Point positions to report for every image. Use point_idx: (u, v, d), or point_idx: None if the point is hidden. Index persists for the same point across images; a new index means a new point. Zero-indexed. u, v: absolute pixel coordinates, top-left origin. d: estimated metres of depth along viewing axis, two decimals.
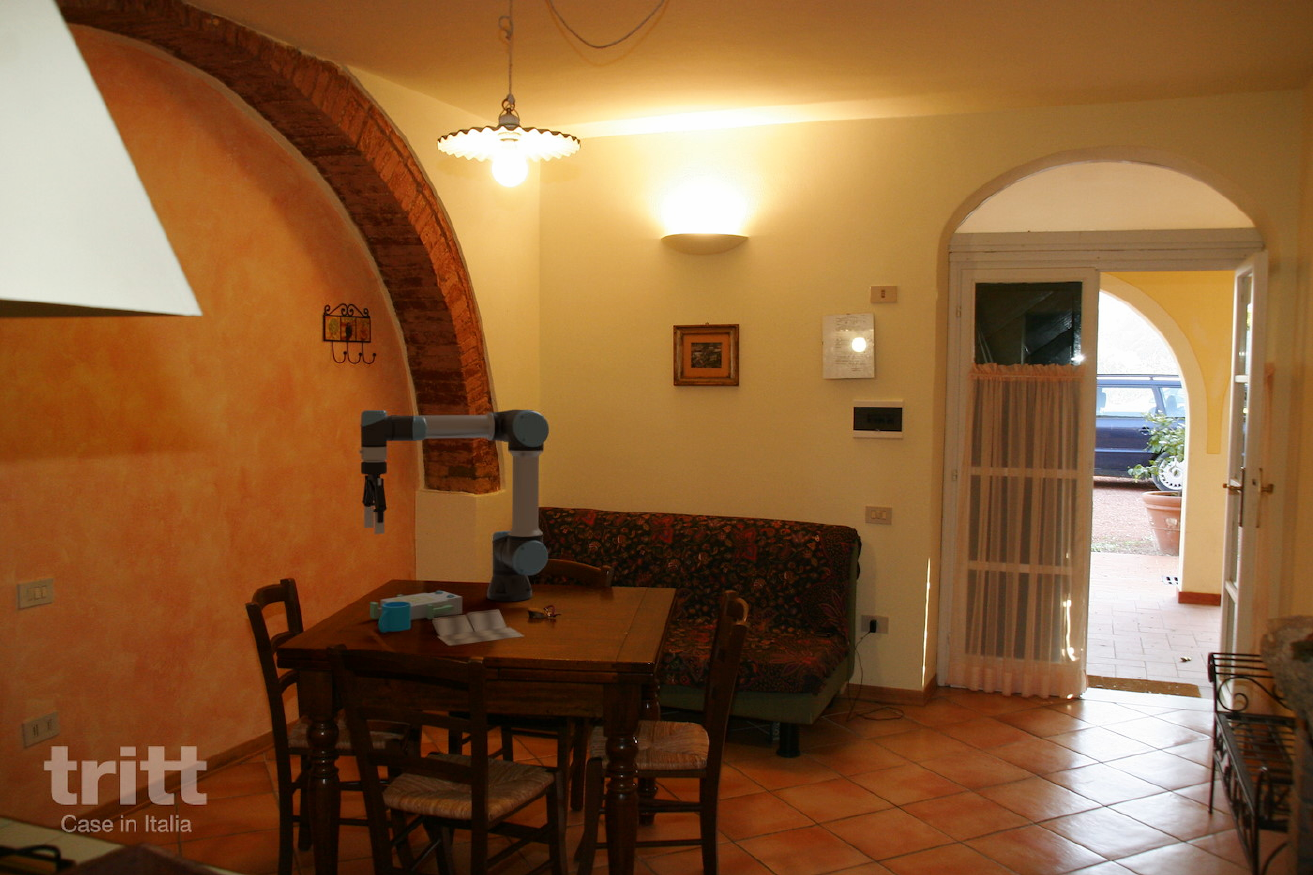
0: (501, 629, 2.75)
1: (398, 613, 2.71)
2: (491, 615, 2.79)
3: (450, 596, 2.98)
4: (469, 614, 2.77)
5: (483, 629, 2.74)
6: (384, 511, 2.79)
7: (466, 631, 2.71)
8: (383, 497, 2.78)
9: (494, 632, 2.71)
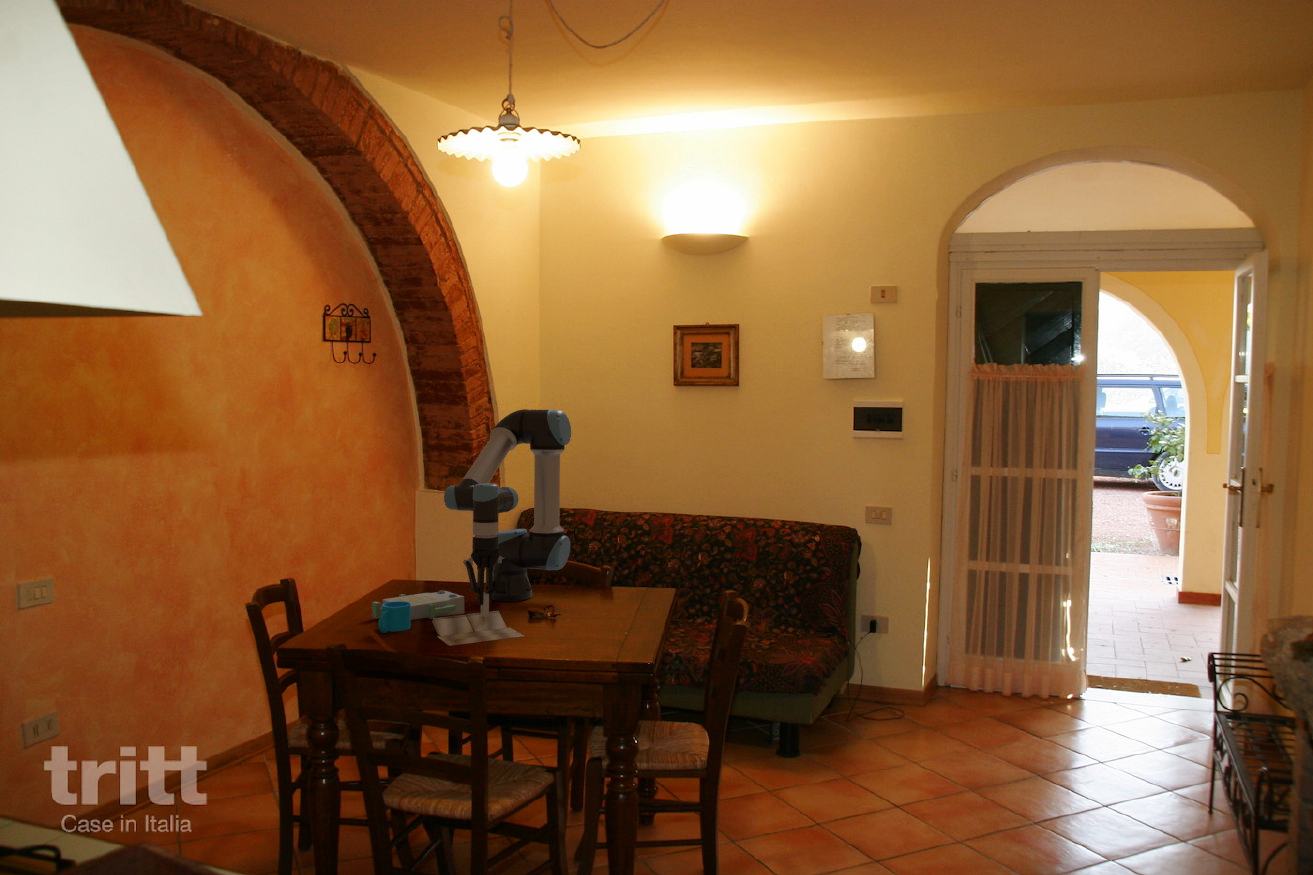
0: (501, 629, 2.75)
1: (398, 613, 2.71)
2: (491, 616, 2.80)
3: (452, 596, 2.98)
4: (469, 615, 2.78)
5: (483, 629, 2.74)
6: (482, 594, 2.76)
7: (466, 631, 2.71)
8: (471, 580, 2.75)
9: (494, 632, 2.71)
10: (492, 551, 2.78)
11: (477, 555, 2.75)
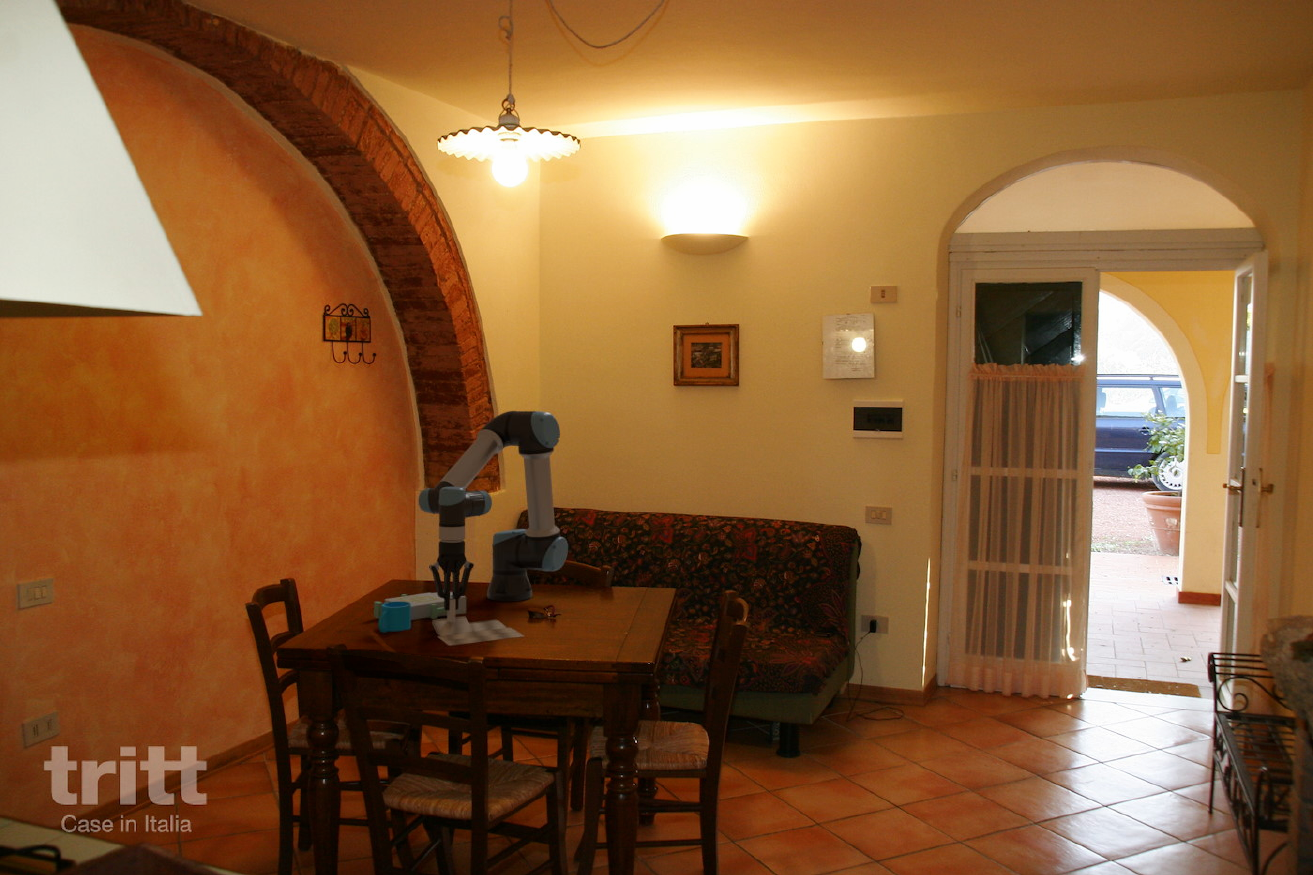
0: (501, 629, 2.75)
1: (398, 613, 2.71)
2: (490, 623, 2.80)
3: None
4: None
5: (483, 630, 2.74)
6: (448, 599, 2.71)
7: (466, 631, 2.71)
8: (437, 586, 2.70)
9: (494, 632, 2.71)
10: (459, 556, 2.73)
11: (443, 560, 2.70)
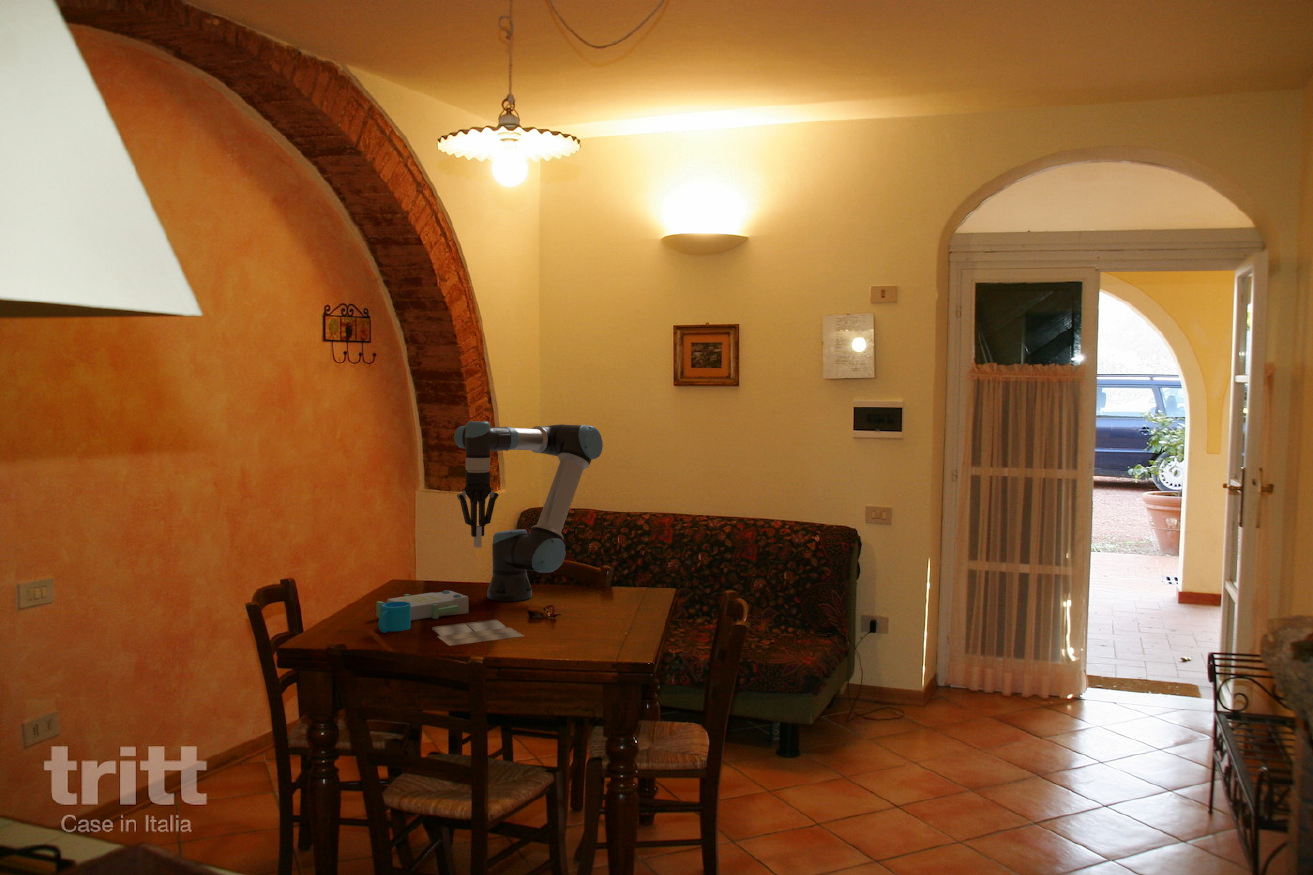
0: (501, 629, 2.75)
1: (398, 613, 2.71)
2: (490, 623, 2.80)
3: (456, 596, 2.98)
4: (468, 624, 2.78)
5: (483, 630, 2.74)
6: (475, 526, 2.90)
7: (466, 632, 2.71)
8: (464, 513, 2.88)
9: (494, 632, 2.71)
10: (484, 486, 2.91)
11: (470, 489, 2.89)
